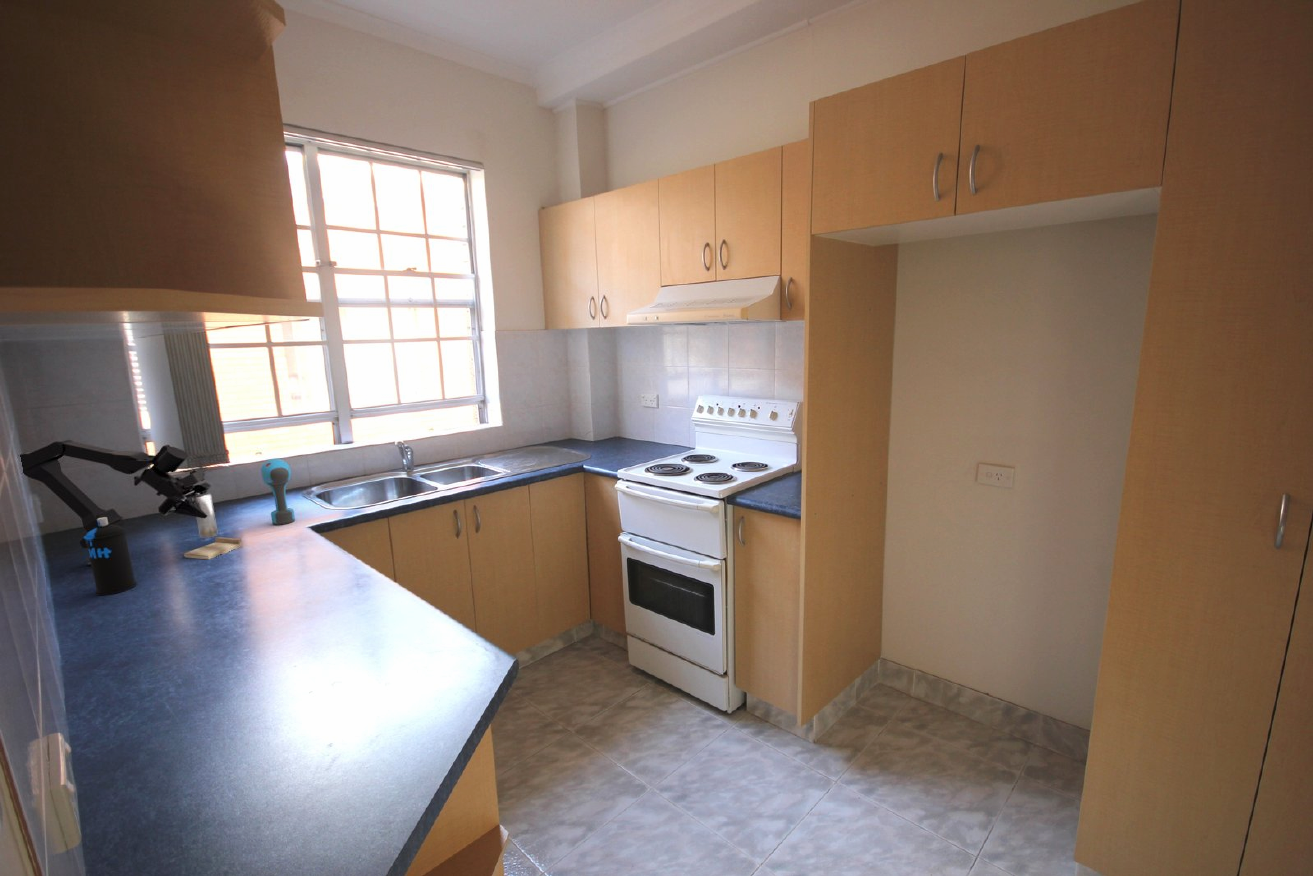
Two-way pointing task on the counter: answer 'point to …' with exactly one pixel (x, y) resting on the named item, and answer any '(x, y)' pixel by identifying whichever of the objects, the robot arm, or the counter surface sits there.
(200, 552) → the wooden tray
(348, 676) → the counter surface
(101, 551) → the aerosol can
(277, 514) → the power drill
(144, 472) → the robot arm
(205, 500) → the rod
